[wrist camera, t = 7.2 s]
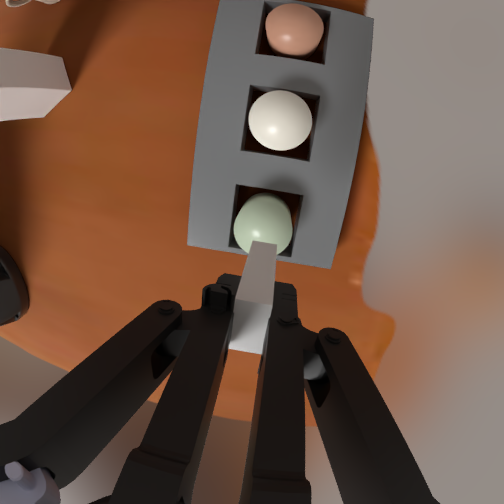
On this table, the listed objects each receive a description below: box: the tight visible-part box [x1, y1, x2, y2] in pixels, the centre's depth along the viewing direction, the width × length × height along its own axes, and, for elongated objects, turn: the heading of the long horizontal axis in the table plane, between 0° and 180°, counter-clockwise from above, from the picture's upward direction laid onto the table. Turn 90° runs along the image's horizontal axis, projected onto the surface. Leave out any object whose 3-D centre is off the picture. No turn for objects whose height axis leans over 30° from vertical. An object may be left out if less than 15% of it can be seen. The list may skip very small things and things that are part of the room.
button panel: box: [187, 0, 374, 269], centre depth 23 cm, size 25×14×3 cm, turn 172°
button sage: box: [234, 193, 292, 254], centre depth 25 cm, size 5×5×4 cm
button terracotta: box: [265, 3, 324, 60], centre depth 19 cm, size 5×5×4 cm
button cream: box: [249, 90, 312, 150], centre depth 21 cm, size 5×5×4 cm
